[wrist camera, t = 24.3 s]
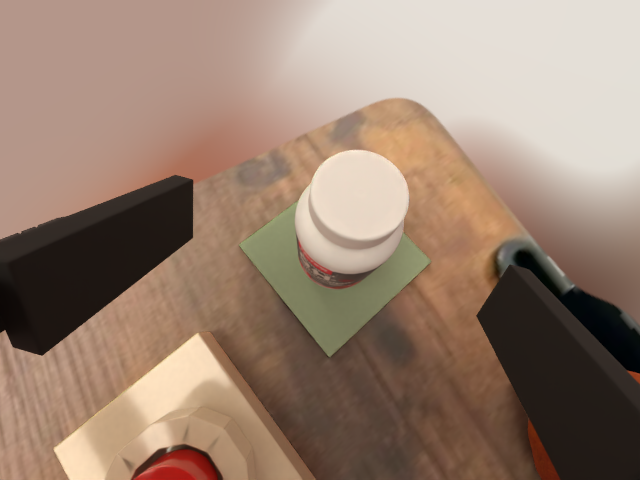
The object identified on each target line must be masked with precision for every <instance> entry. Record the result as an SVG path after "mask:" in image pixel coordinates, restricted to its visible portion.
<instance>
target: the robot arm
mask: <svg viewBox="0 0 640 480" xmlns="http://www.w3.org/2000/svg"><path fill="white" fill-rule="evenodd" d="M192 238H193V180H192V179H189V178H185V177H181V176H177V175H174V176H171V177H169V178H166V179H164V180H161V181H159V182H156V183H153V184H151V185H148V186H145V187H143V188H140V189H137V190H135V191H132V192H130V193H127V194H125V195H122V196H119V197H116V198H114V199H111V200H109V201H106V202H103V203H101V204H98V205H96V206H93V207H91V208H88V209H85V210H83V211H80V212H77V213H75V214H72V215H69V216H66V217H61V218H56V219H54V220H51V221H49V222H46V223H43V224H40V225H38V227H37V228H36V227H33V228H30V229H27V230H24V231H22V233H21V234H19V233H16V234H14V235H11V236H9V237H6V238H3V239H1V240H0V333H1V332H2V331H4V330H6V332H7V335H8V337H9V339H10V342H11V344H12V346H13V347H14V348H18V349H21V350H24V351H28V352H31V353H34V354H38V355H41V356H42V355H44V354H45V353H46V352H47V351H49V350H50V349H51V348H53V347H54V346H55V345H56V344H58V343H59V342H60V341H62V340H63V339H64V338H65V337H67V336H68V335H69V334H70V333H72V332H73V331H74V330H76V329H77V328H78V327H79V326H81V325H82V324H83V323H85V322H86V321H87V320H88V319H90V318H91V317H92V316H94V315H95V314H96V313H97V312H99V311H100V310H101V309H102V308H104V307H105V306H106V305H108V304H109V303H110V302H111V301H113V300H114V299H115V298H117V297H118V296H119V295H120V294H122V293H123V292H124V291H125V290H127V289H128V288H129V287H131V286H132V285H133V284H134V283H136V282H137V281H138V280H140V279H141V278H142V277H143V276H145V275H146V274H147V273H149V272H150V271H151V270H152V269H154V268H155V267H156V266H157V265H159V264H160V263H161V262H163V261H164V260H165V259H166V258H168V257H169V256H170V255H172V254H173V253H174V252H175V251H177V250H178V249H179V248H181V247H182V246H183V245H184V244H186V243H187V242H188V241H189V240H191V239H192ZM476 316H477V318H478V320H479V322H480V324H481V326H482V328H483V330H484V332H485V334H486V336H487V337H488V339H489V341H490V343H491V345H492V347H493V349H494V351H495V353H496V355H497V357H498V359H499V361H500V363H501V365H502V367H503V369H504V371H505V373H506V375H507V377H508V378H509V380H510V382H511V384H512V386H513V388H514V390H515V392H516V394H517V396H518V398H519V400H520V402H521V404H522V406H523V408H524V410H525V412H526V414H527V416H528V418H529V419H530V421H531V423H532V425H533V427H534V429H535V431H536V433H537V435H538V437H539V439H540V441H541V443H542V445H543V447H544V449H545V451H546V453H547V455H548V457H549V459H550V460H551V462H552V464H553V466H554V468H555V470H556V472H557V474H558V476H559V478H560V480H640V384H639V383H638V382H637V381H636V380H635V379H634V378H633V377H632V375H631V374H630V373H629V372H628V371H627V370H626V369H625V368H624V367H623V366H622V365H621V364H620V363H619V362H618V361H617V360H616V359H615V358H614V357H613V356H612V355H611V354H610V353H609V352H608V351H607V350H606V349H605V348H604V347H603V346H602V344H601V343H600V342H599V341H598V340H597V339H596V338H595V337H594V336H593V335H592V334H591V333H590V332H589V331H588V330H587V329H586V328H585V327H584V326H583V325H582V324H581V323H580V322H579V321H578V320H577V319H576V318H575V317H574V316H573V314H572V313H571V312H570V311H569V310H568V309H567V308H566V307H565V306H564V305H563V304H562V303H561V302H560V301H559V300H558V299H557V298H556V297H555V296H554V295H553V294H552V293H551V292H550V291H549V290H548V289H547V288H546V287H545V286H544V285H543V283H542V282H541V281H540V280H539V279H538V278H537V277H536V276H535V275H534V274H533V273H532V272H531V271H530V270H529V269H525V268H521V267H518V266H514V265H509V266H508V268H507V269H506V271H505V272H504V274H503V276H502V277H501V279H500V280H499V282H498V283H497V285H496V286H495V288H494V289H493V291H492V292H491V294H490V296H489V297H488V299H487V300H486V302H485V303H484V305H483V306H482V308H481V309H480V311H479V312H478V314H477V315H476Z"/></svg>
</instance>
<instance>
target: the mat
mask: <svg viewBox="0 0 640 480" xmlns="http://www.w3.org/2000/svg"><path fill="white" fill-rule="evenodd" d="M298 201H299V200H298ZM298 201H297V202H295V203H294V204H293V205H291V206H290V207H289V208H287V209H286V210H285V211H283V212H282V213H281V214H279V215H278V216H277V217H275V218H274V219H273V220H271V221H270V222H269V223H267V224H266V225H265V226H263V227H262V228H260V229H259V230H258V231H256V232H255V233H254V234H252V235H251V236H250V237H248V238H247V239H246V240H244V241H243V242H242V243H240V244H239V246H240V248H241V249H242V250H243V251H244V253H245V254H246V255H247V256H248V258H249V259H250V260H251V261H252V263H253V264H254V265H255V266H256V267H257V269H258V270H259V271H260V272H261V274H262V275H263V276H264V277H265V279H266V280H267V281H268V282H269V284H270V285H271V286H272V287H273V289H274V290H275V291H276V292H277V294H278V295H279V296H280V297H281V299H282V300H283V301H284V302H285V303H286V305H287V306H288V307H289V308H290V310H291V311H292V312H293V313H294V315H295V316H296V317H297V318H298V320H299V321H300V322H301V323H302V325H303V326H304V327H305V328H306V330H307V331H308V332H309V333H310V335H311V336H312V337H313V338H314V339H315V341H316V342H317V343H318V344H319V346H320V347H321V348H322V349H323V351H324V352H325V353H326V354H327V356H328V357H329V358H330V357H331V356H332V355H333V354H334V353H335V352H336V351H337V350H339V349H340V348H341V347H342V346H343V345H344V344H345V343H346V342H347V341H348V340H349V339H350V338H351V337H352V336H353V335H354V334H355V333H357V332H358V331H359V330H360V329H361V328H362V327H363V326H364V325H365V324H366V323H367V322H368V321H369V320H370V319H371V318H372V317H373V316H375V315H376V314H377V313H378V312H379V311H380V310H381V309H382V308H383V307H384V306H385V305H386V304H387V303H388V302H389V301H390V300H391V299H393V298H394V297H395V296H396V295H397V294H398V293H399V292H400V291H401V290H402V289H403V288H404V287H405V286H406V285H407V284H408V283H409V282H411V281H412V280H413V279H414V278H415V277H416V276H417V275H418V274H419V273H420V272H421V271H422V270H423V269H424V268H425V267H426V266H427V265H429V264H430V263H431V260H430V259H429V258H428V257H427V256H426V255H425V254H424V253H423V252H422V251H421V250H420V249H419V248H418V247H417V246H416V245H415V244H414V243H413V242H412V241H411V240H410V239H409V238H408V237H407V236H406V234H405V233H404V232H403V234H402V237H401V240H400V243H399V245H398V247H397V248H396V250H395V251H394V253H393V254H392V255H391V256H390V258H389V259H388V260H387V261H386V262H385V263H383V264H382V265H381V266H380V267H378V268H377V269H376V270H375V271H373V272H372V273H371V274H370V275H368V276H367V277H366V278H364V279H363V280H362V281H361V282H359V283H357V284H356V285H354V286H352V287H349V288H346V289H340V290H333V289H327V288H324V287H321V286H319V285H317V284H316V283H314V282H313V281H312V280H311V279H309V278H308V276H307V275H306V274H305V272H304V271H303V269H302V267H301V265H300V262H299V257H298V250H297V239H296V230H295V212H296V207H297V204H298Z"/></svg>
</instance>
